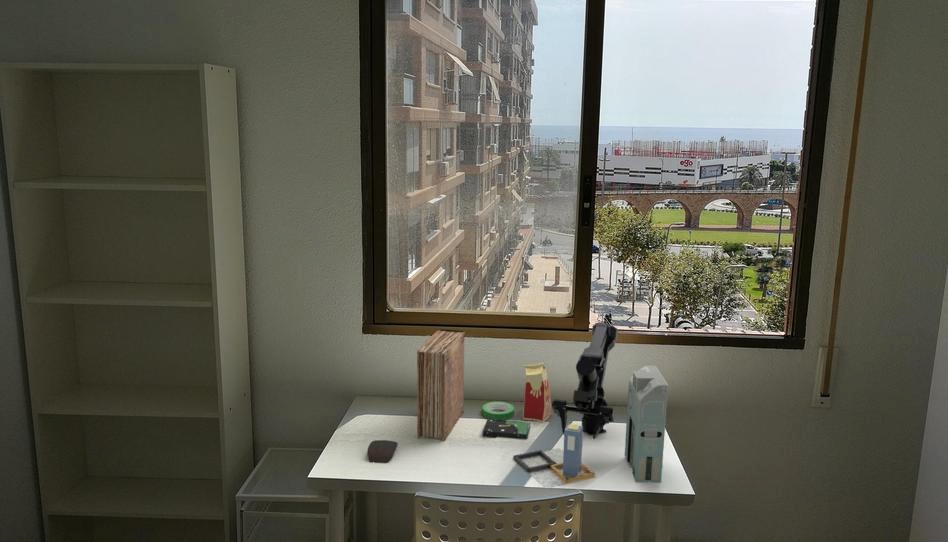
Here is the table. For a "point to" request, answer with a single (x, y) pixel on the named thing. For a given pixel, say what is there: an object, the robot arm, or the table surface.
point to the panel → (550, 468)
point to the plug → (572, 450)
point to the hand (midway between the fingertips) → (578, 436)
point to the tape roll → (498, 406)
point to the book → (440, 384)
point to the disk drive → (506, 429)
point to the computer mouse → (381, 451)
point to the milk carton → (536, 394)
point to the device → (646, 424)
